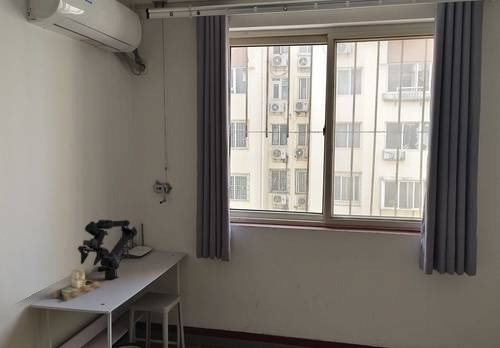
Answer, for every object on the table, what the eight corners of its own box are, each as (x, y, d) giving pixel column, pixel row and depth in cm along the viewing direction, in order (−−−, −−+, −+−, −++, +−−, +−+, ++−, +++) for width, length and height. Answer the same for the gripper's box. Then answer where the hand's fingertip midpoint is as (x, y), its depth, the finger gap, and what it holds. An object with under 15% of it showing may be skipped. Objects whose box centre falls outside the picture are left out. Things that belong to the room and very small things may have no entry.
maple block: (79, 284, 241) (78, 268, 240) (85, 285, 238) (84, 269, 238) (71, 287, 237) (70, 271, 236) (77, 288, 234) (76, 272, 233)
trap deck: (85, 284, 249) (85, 279, 249) (100, 287, 243) (99, 282, 243) (52, 297, 230) (51, 292, 230) (67, 300, 224) (66, 295, 224)
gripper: (77, 232, 245) (65, 258, 237) (102, 234, 238) (91, 260, 230) (88, 240, 254) (78, 265, 246) (113, 242, 247) (104, 267, 239)
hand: (87, 264), depth 240 cm, fingers open, 9 cm apart
